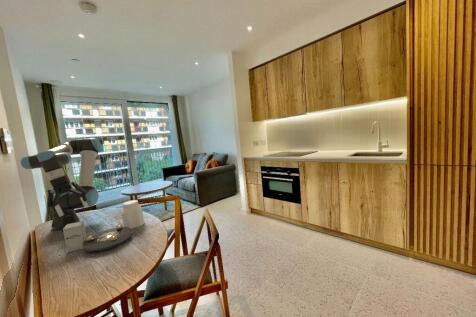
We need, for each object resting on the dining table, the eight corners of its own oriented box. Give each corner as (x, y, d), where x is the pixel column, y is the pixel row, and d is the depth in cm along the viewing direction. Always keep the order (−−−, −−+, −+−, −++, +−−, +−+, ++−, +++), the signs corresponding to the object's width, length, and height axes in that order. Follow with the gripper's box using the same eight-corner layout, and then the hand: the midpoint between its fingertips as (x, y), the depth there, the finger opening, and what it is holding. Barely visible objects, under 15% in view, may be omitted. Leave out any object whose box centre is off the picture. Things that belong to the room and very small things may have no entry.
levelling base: (91, 238, 118) (90, 229, 118) (134, 229, 125) (133, 220, 125) (76, 259, 98) (74, 248, 97) (128, 246, 105) (127, 236, 104)
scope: (78, 210, 129) (76, 215, 120) (81, 231, 130) (79, 238, 122) (61, 213, 124) (58, 218, 116) (64, 235, 126) (61, 242, 117)
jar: (124, 230, 125) (120, 206, 123) (123, 225, 133) (119, 202, 131) (145, 224, 131) (141, 201, 129) (143, 220, 139) (139, 198, 137)
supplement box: (66, 253, 105) (61, 229, 103) (71, 246, 112) (66, 223, 110) (84, 248, 108) (79, 225, 106) (88, 242, 114) (83, 220, 113)
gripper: (28, 187, 112) (46, 222, 116) (77, 171, 116) (93, 205, 120) (38, 183, 119) (55, 217, 123) (84, 168, 123) (99, 201, 127)
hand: (74, 211), depth 121 cm, fingers open, 13 cm apart
